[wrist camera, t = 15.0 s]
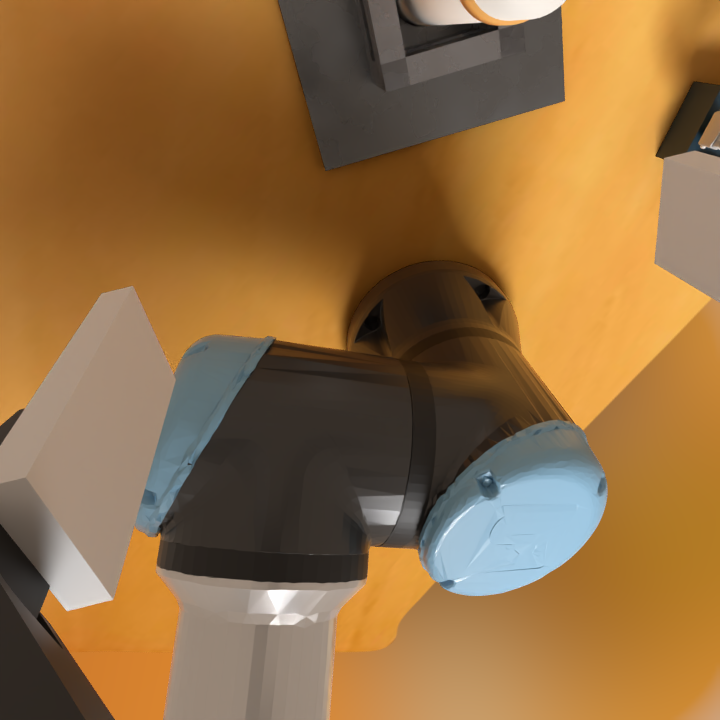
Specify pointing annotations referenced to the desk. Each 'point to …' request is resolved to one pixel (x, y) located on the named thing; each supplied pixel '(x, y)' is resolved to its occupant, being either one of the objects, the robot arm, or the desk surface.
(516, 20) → the tube
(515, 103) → the collar stand
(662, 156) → the watch
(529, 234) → the desk surface
